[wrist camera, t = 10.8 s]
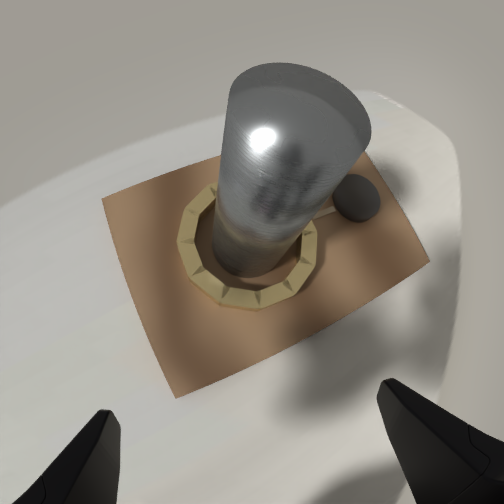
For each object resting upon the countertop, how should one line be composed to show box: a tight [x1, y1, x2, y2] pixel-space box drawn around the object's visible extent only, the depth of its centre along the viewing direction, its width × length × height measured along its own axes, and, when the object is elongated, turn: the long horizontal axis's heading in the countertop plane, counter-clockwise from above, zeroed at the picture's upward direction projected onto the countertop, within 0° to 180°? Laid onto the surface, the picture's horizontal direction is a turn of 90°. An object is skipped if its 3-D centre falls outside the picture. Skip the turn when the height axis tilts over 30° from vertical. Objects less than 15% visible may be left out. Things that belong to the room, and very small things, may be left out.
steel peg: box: [212, 63, 371, 278], centre depth 14 cm, size 4×4×12 cm
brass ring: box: [176, 182, 317, 312], centre depth 19 cm, size 8×8×1 cm
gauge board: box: [102, 152, 430, 398], centre depth 20 cm, size 21×14×2 cm, turn 116°
